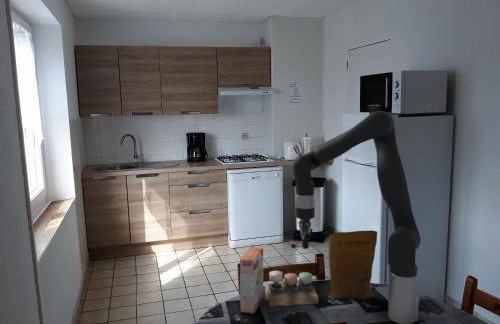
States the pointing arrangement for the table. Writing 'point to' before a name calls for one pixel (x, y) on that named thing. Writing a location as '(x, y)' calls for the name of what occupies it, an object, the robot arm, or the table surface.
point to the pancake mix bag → (351, 263)
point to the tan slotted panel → (290, 294)
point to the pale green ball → (305, 278)
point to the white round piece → (276, 277)
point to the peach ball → (290, 279)
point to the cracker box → (251, 280)
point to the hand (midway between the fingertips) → (305, 248)
